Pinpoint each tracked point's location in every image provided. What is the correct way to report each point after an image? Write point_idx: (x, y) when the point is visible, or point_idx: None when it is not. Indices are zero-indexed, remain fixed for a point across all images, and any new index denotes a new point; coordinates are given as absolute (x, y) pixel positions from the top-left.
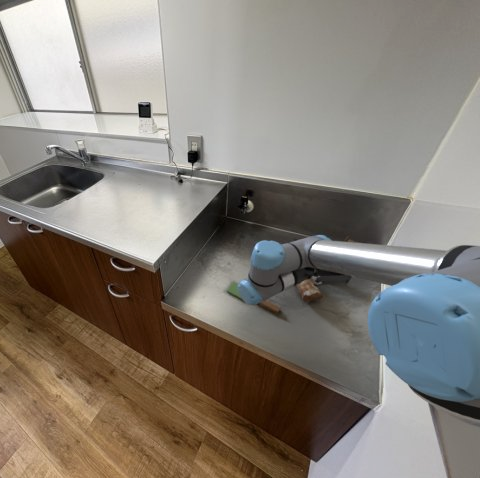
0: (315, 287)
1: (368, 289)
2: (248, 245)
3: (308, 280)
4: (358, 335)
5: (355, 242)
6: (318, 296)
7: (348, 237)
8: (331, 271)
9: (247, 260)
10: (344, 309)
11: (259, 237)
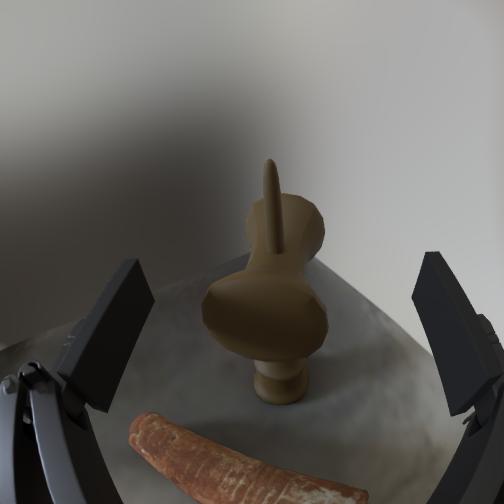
0: (323, 501)
1: (371, 324)
2: None
3: (269, 495)
4: None
5: (289, 196)
6: None
7: (273, 164)
8: (495, 493)
9: None
10: (412, 438)
11: None
